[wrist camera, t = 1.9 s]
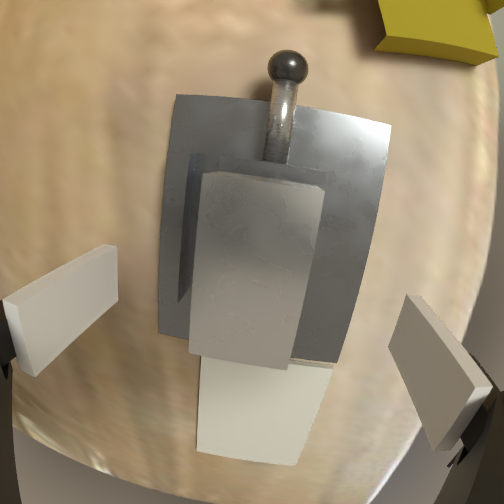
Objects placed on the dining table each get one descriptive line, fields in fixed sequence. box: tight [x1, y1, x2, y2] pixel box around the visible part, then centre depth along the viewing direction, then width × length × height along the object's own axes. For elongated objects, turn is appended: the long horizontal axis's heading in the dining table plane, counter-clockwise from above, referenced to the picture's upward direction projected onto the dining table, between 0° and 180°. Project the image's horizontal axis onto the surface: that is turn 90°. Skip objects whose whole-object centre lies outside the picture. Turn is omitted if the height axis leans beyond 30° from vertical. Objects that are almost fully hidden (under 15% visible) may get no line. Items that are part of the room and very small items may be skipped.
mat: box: [197, 356, 333, 466], centre depth 29 cm, size 12×16×1 cm
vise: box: [158, 50, 391, 363], centre depth 21 cm, size 16×23×6 cm
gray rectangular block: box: [189, 171, 325, 370], centre depth 17 cm, size 4×7×12 cm, turn 172°
